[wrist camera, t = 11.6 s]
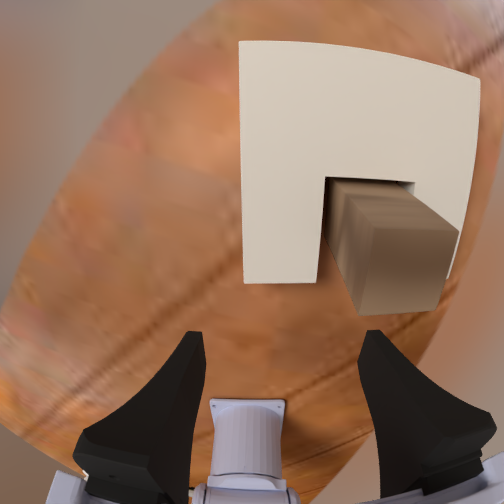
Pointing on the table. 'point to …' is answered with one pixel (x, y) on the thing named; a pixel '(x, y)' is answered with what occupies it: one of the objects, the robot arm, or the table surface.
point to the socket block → (343, 142)
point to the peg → (387, 246)
